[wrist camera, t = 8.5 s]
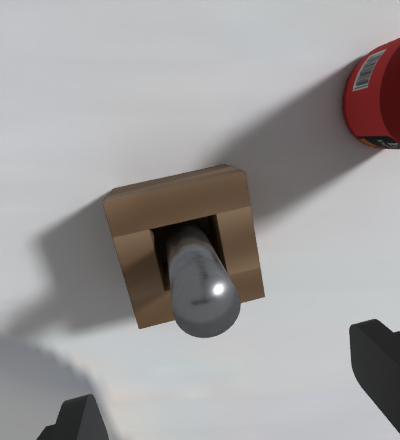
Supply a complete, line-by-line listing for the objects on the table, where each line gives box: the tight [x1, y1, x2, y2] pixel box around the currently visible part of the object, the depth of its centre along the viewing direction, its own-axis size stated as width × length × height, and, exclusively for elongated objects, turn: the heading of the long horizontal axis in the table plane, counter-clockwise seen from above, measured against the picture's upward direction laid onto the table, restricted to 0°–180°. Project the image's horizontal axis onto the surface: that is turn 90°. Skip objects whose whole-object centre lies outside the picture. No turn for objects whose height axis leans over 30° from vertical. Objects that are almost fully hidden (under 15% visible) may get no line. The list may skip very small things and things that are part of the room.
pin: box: [164, 219, 241, 338], centre depth 20 cm, size 3×3×12 cm
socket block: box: [102, 164, 265, 329], centre depth 23 cm, size 9×9×6 cm
